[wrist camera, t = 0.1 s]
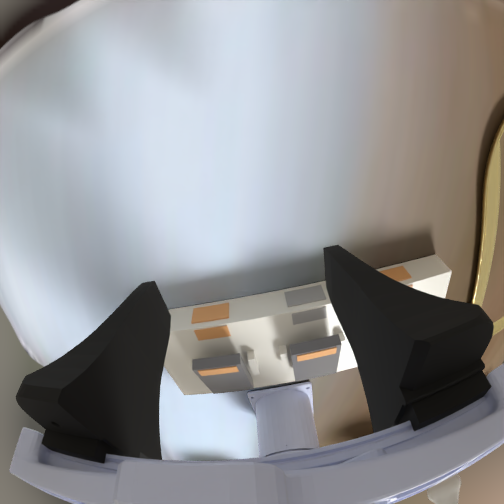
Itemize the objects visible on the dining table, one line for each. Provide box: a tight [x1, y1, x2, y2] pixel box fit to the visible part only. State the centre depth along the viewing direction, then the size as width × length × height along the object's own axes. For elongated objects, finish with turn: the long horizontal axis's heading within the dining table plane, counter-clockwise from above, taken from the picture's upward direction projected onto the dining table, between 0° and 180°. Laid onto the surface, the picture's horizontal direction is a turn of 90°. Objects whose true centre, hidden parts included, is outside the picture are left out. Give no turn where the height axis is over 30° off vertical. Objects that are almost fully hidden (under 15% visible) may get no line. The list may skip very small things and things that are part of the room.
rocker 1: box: [192, 353, 254, 394], centre depth 24 cm, size 6×4×1 cm, turn 11°
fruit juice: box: [427, 474, 461, 504], centre depth 40 cm, size 9×9×28 cm
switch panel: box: [164, 254, 452, 395], centre depth 25 cm, size 10×28×4 cm, turn 101°
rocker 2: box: [290, 334, 342, 382], centre depth 23 cm, size 6×4×1 cm, turn 11°
